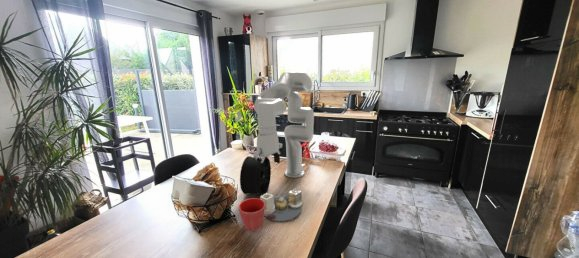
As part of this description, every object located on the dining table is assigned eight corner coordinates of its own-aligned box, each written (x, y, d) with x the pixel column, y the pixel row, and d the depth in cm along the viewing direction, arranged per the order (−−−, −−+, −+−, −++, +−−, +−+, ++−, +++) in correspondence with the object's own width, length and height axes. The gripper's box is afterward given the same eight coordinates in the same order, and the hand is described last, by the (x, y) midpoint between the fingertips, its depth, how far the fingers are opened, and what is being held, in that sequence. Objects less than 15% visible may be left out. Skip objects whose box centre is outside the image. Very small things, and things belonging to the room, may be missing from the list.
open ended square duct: (267, 203, 111) (266, 190, 109) (277, 208, 106) (277, 195, 105) (257, 210, 106) (256, 197, 104) (267, 216, 101) (266, 202, 100)
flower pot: (255, 237, 91) (253, 215, 88) (235, 228, 96) (233, 207, 94) (270, 221, 99) (269, 202, 97) (251, 214, 105) (250, 195, 102)
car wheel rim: (260, 203, 113) (258, 166, 108) (241, 201, 115) (238, 164, 110) (271, 184, 132) (269, 151, 127) (255, 182, 134) (252, 150, 129)
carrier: (280, 194, 121) (279, 180, 119) (309, 207, 109) (309, 191, 107) (253, 211, 107) (251, 195, 105) (283, 228, 95) (283, 210, 93)
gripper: (274, 124, 108) (276, 157, 112) (246, 133, 95) (249, 170, 100) (286, 126, 103) (288, 161, 108) (258, 136, 90) (261, 175, 95)
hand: (269, 166), depth 104 cm, fingers open, 9 cm apart
